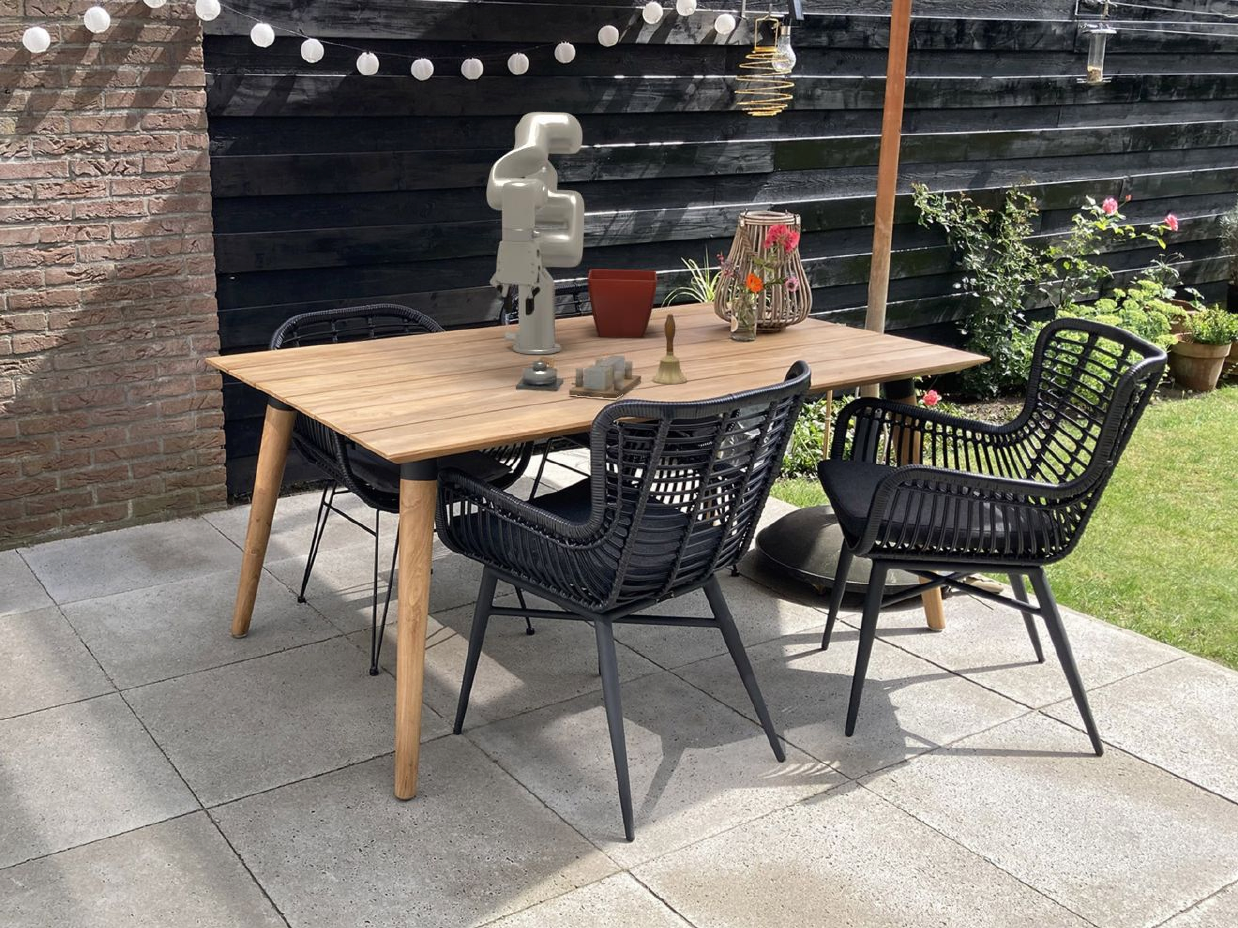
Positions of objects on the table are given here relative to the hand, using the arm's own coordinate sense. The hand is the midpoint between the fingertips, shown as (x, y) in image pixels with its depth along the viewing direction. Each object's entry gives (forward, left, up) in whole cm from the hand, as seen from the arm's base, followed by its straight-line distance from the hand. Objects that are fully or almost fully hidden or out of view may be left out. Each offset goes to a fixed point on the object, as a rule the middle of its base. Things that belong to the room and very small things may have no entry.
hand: (519, 313), depth 295 cm
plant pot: (+7, +62, -16) cm, 64 cm away
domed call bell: (+7, -4, -14) cm, 16 cm away
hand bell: (+35, +9, -16) cm, 39 cm away
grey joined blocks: (+23, -5, -14) cm, 28 cm away
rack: (+23, -5, -15) cm, 28 cm away
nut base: (+10, -7, -15) cm, 20 cm away
